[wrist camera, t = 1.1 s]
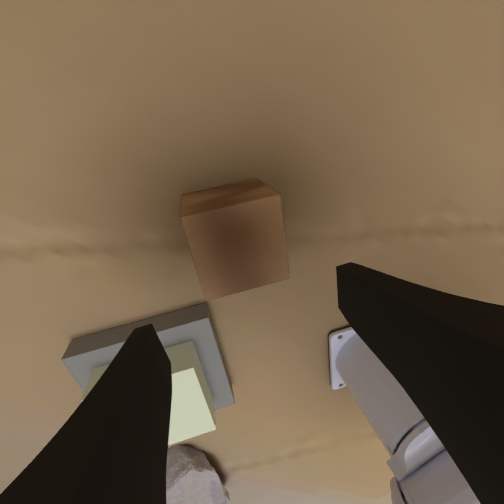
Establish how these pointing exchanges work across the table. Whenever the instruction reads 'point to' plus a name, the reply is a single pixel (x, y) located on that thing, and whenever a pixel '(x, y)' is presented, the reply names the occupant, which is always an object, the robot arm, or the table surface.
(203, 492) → the stone block
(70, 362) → the grey square slab
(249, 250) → the walnut cube
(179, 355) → the sage block
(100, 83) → the table surface
